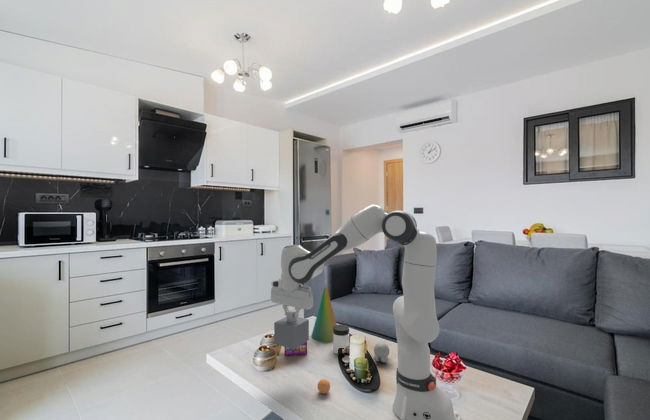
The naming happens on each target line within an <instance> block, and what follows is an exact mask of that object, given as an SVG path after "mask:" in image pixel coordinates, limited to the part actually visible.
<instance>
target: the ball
mask: <svg viewBox="0 0 650 420" xmlns="http://www.w3.org/2000/svg"><path fill="white" fill-rule="evenodd" d="M330 389H331V383H330V381H329V380H328V379H326V378H322V379H320V380H319V381H318V383H317V390H318V392H319V393H321V394H324V395H325V394H328V393H329V391H330Z"/></svg>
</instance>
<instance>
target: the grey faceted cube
mask: <svg viewBox="0 0 650 420" xmlns="http://www.w3.org/2000/svg"><path fill="white" fill-rule="evenodd" d="M295 312H296V310H295V309H294V310H293V309H290V310H289V311H287V316H285V317H283V318H280V319H278V320H277V321H275V322H274V323H273V328H274V329H273V331H274V336H273V337H274V339H273V340H274V342H273V343H274V344H275V345H277V346H280V347H284V348H285V347H287V348H290V349H293V350H294V349H296V348H297V347H299V346H301V345H302V344H304V343H305V342H307V343H308V341H310V338H309V337H310V333H309V332H310V329H309V328H310V325H309V323H310V320H309V319H308V318H306V319H305V318H304V317H300V316H298V317H297V318H295V317H293V313H295Z"/></svg>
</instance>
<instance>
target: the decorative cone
mask: <svg viewBox="0 0 650 420" xmlns="http://www.w3.org/2000/svg"><path fill="white" fill-rule="evenodd" d="M324 285H325V286H324V288H323V293H322V295H321V299H320V302H319V307H318V310H317V314H316V318H315V323H314V324H313V325H314V326H313V329H312V332H311V339H312V340H313V341H315V342H318V343H326V344H327V343H333V327H334V326H335V325H338V324H337V320H336V317H335V313H334V309H333V306H332V301H331V297H330V295H329V291H328V287H327V283H325V284H324Z"/></svg>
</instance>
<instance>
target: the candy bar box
mask: <svg viewBox="0 0 650 420" xmlns="http://www.w3.org/2000/svg"><path fill="white" fill-rule="evenodd" d="M304 319H307V318H304ZM307 354H308V341H307V342H305V343H304V344H302V345H301V346H299V347H297V348H296V349H294V350H293V349H290V348H287V347H284V356H285V357H289V356H304V355H305V356H306V355H307Z"/></svg>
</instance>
